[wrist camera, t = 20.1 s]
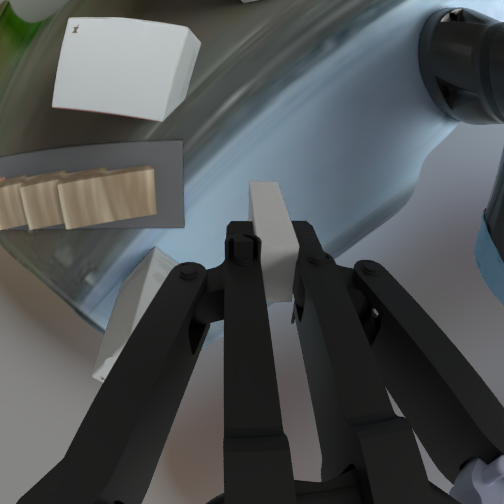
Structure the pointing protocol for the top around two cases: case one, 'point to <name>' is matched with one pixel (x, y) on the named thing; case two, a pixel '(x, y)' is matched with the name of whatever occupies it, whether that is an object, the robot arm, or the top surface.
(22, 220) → the domino
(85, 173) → the domino
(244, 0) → the jar
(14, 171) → the mat
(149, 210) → the domino
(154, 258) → the skincare box
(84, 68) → the small box
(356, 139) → the top surface
